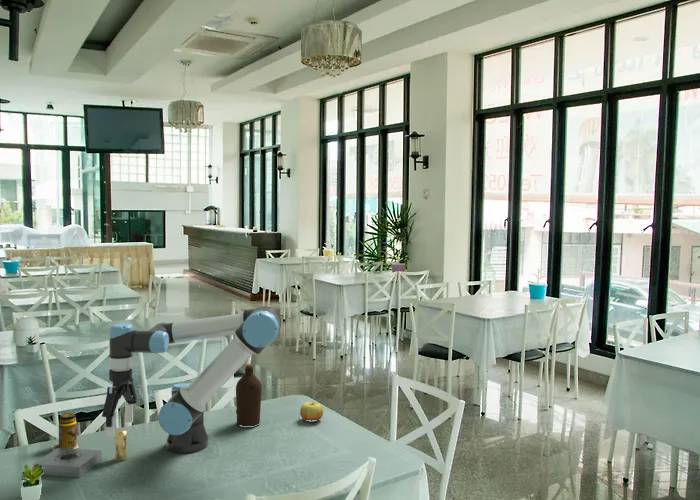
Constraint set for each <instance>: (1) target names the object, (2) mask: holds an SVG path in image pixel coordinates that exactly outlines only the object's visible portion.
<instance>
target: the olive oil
mask: <svg viewBox="0 0 700 500" xmlns="http://www.w3.org/2000/svg"><path fill="white" fill-rule="evenodd" d="M244 366H245V367H244V374H243V375H242V376H241V377H240V378H239V379H238V381H237V383H236V385H235V402H236V403H235V405H236V407H235V408H236V410H235V414H236V425H237V424H238V425H242V426H255V425H257V424H259V423H260V424H261V404H262V392H263V391H262V390H263V386H262V382H261V380H260V379H259V378H258V377H257V376H256V374H254V364H253V363H246V364H245V365H244ZM260 424H259V425H260ZM238 425H237V426H238Z"/></svg>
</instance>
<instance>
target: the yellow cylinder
mask: <svg viewBox="0 0 700 500" xmlns="http://www.w3.org/2000/svg"><path fill="white" fill-rule="evenodd" d="M127 458H128V429H123V428H121V429H117V430H114V461H115V462H118V463H119V462H120V463H121V462H125V461H126V460H128V459H127Z"/></svg>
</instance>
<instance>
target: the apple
mask: <svg viewBox="0 0 700 500" xmlns="http://www.w3.org/2000/svg"><path fill="white" fill-rule="evenodd" d="M299 412H300V417H301V418H302V420H304V419H305V420H311V421H312V420H319V419H320V420H321V419H322V418H323V415H324V408H323V406H322V404H320V403H319V402H317V401H307V402H304V403H303V404H302V405H301V407H300V411H299ZM305 420H304V421H305ZM320 420H319V421H320Z"/></svg>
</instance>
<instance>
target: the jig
mask: <svg viewBox="0 0 700 500" xmlns="http://www.w3.org/2000/svg"><path fill="white" fill-rule="evenodd" d="M102 454H103V451H102V450H98V449H83V448H77V449H72V448H57V449H55V450H54V451H53V450H52V451H51V452H48V453H47V454H46V455H45V456H43V457H42V458H39V460H37V461H35V462H33V464H32V465H33V466H34V465H36V464H39V465H41V466H42V467H43V468H44V474H43V475H42V476H50V477H51V476H53V477H66V478H81V477H82V476H83V475H84V474H86V473H87V472H89V471H90V470H91V469H93V468H94V467H96V465H98V464H99V463H100V462H102ZM33 466H32V467H33Z"/></svg>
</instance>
